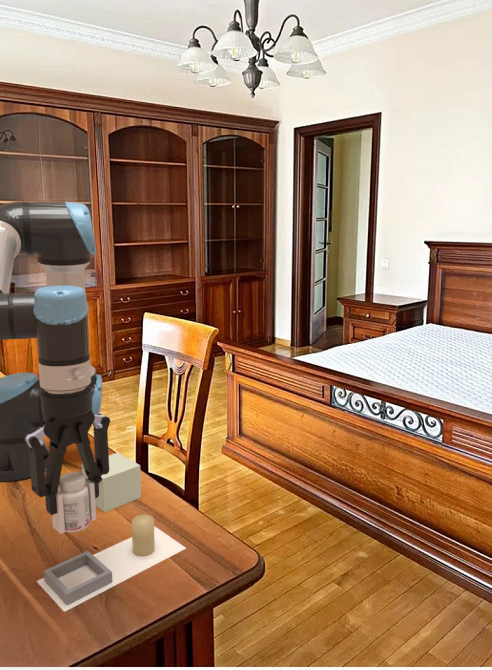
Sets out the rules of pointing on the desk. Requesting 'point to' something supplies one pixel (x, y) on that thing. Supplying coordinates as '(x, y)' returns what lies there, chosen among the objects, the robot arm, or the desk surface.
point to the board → (108, 565)
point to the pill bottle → (75, 501)
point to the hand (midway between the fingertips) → (74, 522)
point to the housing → (118, 483)
